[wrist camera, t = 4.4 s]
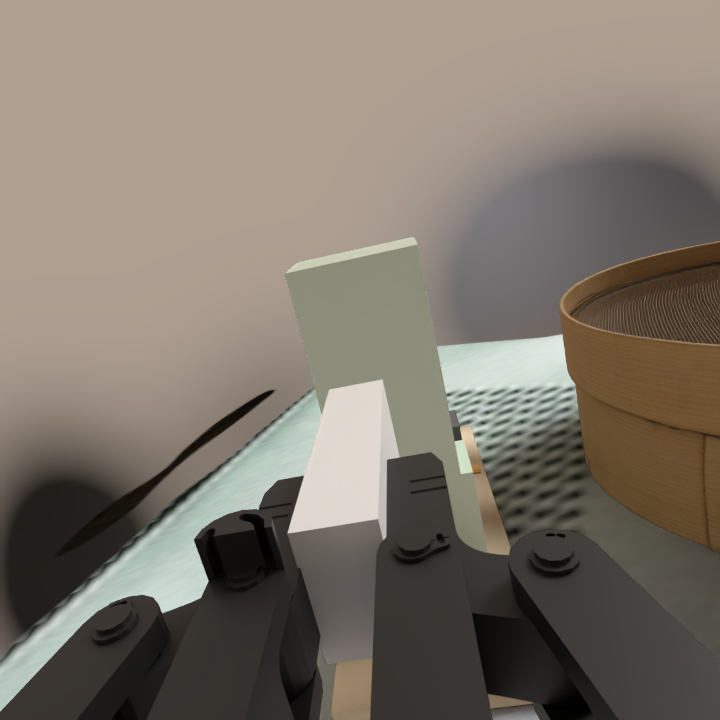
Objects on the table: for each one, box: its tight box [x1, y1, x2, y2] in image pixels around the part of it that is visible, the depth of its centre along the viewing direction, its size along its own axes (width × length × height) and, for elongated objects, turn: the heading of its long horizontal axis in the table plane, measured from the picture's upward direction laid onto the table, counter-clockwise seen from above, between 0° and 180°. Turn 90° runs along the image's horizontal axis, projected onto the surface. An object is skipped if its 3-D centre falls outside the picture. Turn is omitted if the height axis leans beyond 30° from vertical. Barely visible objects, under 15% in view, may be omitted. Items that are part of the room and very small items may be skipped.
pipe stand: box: [331, 426, 533, 720], centre depth 32 cm, size 24×9×7 cm, turn 177°
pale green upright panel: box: [285, 237, 488, 553], centre depth 24 cm, size 3×6×16 cm, turn 87°
